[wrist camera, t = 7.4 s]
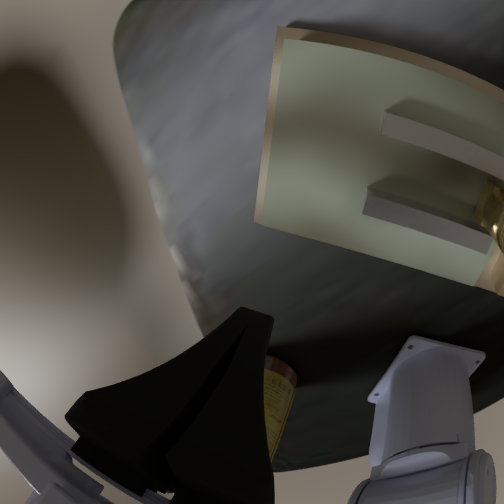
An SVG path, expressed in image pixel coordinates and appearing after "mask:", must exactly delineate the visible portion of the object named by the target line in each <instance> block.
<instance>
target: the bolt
mask: <svg viewBox="0 0 504 504" xmlns="http://www.w3.org/2000/svg"><path fill="white" fill-rule="evenodd" d="M473 216H474V217H475V219H476V220H477V221H478V223H479V224H480V226H483V227H485V228H486V229H487V230H488V232H489V233H490V235H491V236H492V238H493V239H494V241H495V242H496V244H497V245H498V247H499V248H500V250H501V251H502V253H503V254H504V187H503V186H501V185H499V184H497V183H494V182H492V181H490V180H488V179H486V180H485V183H484V186H483V189H482V192H481V195H480V198H479V201H478V204H477V207H476V209H475V212H474V215H473Z"/></svg>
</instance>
